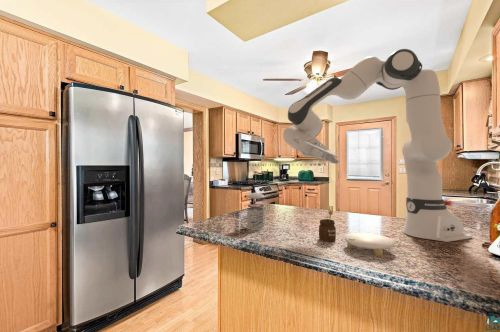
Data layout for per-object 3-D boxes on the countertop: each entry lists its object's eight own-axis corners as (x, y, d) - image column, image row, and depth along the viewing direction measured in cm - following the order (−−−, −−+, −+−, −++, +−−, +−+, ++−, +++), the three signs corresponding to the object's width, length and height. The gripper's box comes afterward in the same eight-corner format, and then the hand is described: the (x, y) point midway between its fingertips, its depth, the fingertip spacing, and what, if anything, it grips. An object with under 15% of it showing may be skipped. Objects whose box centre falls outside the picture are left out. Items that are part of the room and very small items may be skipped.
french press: (241, 226, 109) (241, 170, 109) (263, 223, 114) (263, 170, 114) (250, 231, 101) (250, 171, 101) (274, 228, 105) (274, 170, 105)
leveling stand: (373, 241, 86) (373, 231, 86) (404, 256, 72) (404, 243, 72) (336, 243, 84) (336, 233, 84) (360, 259, 70) (360, 246, 70)
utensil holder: (315, 239, 89) (315, 206, 89) (324, 236, 93) (324, 205, 93) (330, 243, 84) (330, 208, 84) (339, 239, 89) (339, 206, 89)
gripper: (294, 131, 98) (316, 143, 87) (326, 146, 110) (349, 158, 98) (287, 145, 100) (307, 159, 89) (319, 158, 111) (340, 172, 100)
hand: (329, 159), depth 94 cm, fingers open, 8 cm apart
